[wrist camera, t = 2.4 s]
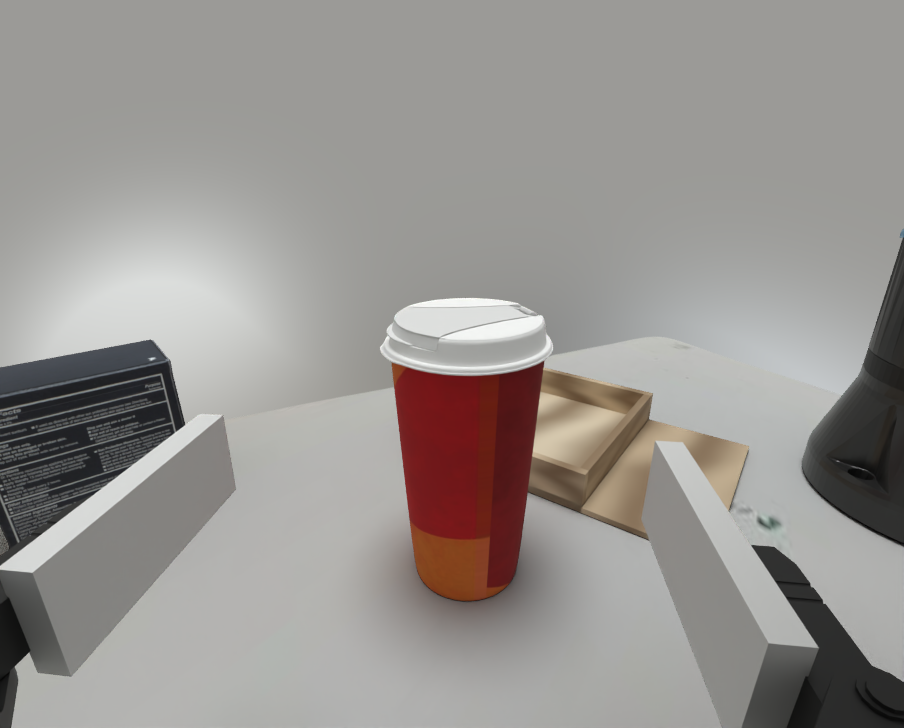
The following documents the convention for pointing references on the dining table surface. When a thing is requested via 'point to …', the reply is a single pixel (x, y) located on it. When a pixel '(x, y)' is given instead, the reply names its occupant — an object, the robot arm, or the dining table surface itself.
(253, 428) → the dining table surface
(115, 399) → the small box
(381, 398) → the dining table surface
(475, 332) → the coffee cup
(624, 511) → the box
